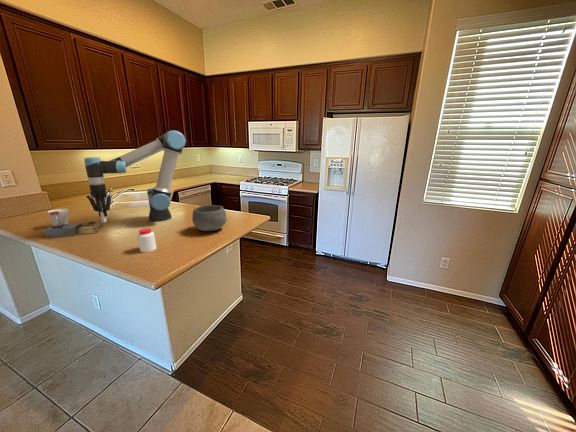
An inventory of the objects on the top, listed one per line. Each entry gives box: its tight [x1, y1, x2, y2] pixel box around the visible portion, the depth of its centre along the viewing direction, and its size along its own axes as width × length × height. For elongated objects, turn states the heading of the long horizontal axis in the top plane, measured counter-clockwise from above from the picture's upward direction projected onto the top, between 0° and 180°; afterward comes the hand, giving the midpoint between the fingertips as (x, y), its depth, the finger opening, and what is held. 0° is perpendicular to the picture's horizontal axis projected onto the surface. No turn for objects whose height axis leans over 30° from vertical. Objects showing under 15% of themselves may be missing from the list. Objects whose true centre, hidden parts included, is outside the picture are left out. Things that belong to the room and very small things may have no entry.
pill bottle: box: [136, 227, 157, 253], centre depth 125 cm, size 8×8×11 cm
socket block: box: [44, 222, 83, 238], centre depth 145 cm, size 14×10×5 cm
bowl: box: [191, 204, 228, 232], centre depth 154 cm, size 21×21×15 cm
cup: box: [47, 208, 69, 224], centre depth 156 cm, size 10×10×11 cm
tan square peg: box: [76, 225, 99, 235], centre depth 147 cm, size 11×4×4 cm, turn 103°
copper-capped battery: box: [48, 211, 62, 228], centre depth 143 cm, size 4×4×14 cm
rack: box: [81, 220, 104, 231], centre depth 153 cm, size 10×8×4 cm
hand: (104, 221), depth 148 cm, fingers closed
